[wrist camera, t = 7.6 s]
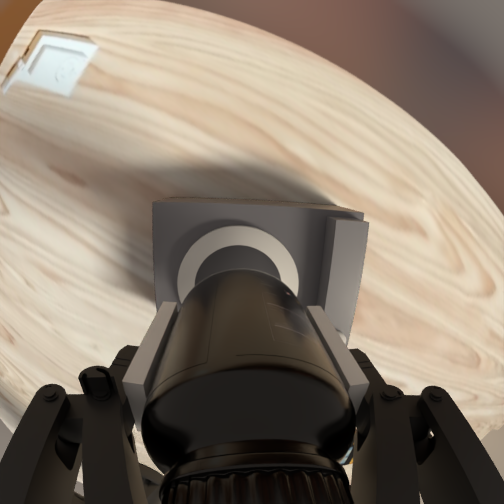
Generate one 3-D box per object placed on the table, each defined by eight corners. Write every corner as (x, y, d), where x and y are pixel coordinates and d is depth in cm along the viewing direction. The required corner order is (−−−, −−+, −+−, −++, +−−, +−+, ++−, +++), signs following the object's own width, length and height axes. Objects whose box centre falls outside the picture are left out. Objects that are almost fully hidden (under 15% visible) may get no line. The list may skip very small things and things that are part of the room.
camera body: (173, 314, 28) (153, 362, 20) (170, 197, 25) (141, 205, 17) (322, 317, 29) (351, 363, 21) (337, 205, 26) (379, 217, 18)
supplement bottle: (239, 387, 16) (247, 567, 5) (156, 318, 15) (66, 513, 3) (326, 322, 15) (428, 505, 4) (246, 235, 14) (282, 465, 2)
